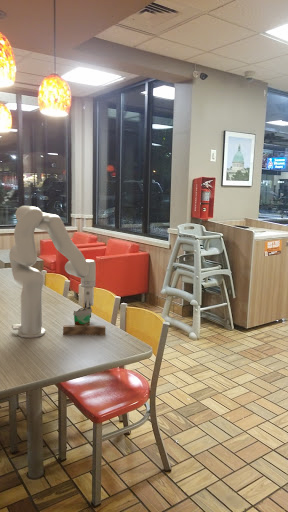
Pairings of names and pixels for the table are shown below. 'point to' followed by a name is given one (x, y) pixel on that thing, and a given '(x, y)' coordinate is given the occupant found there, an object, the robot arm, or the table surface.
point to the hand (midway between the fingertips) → (88, 317)
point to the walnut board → (83, 330)
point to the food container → (82, 316)
